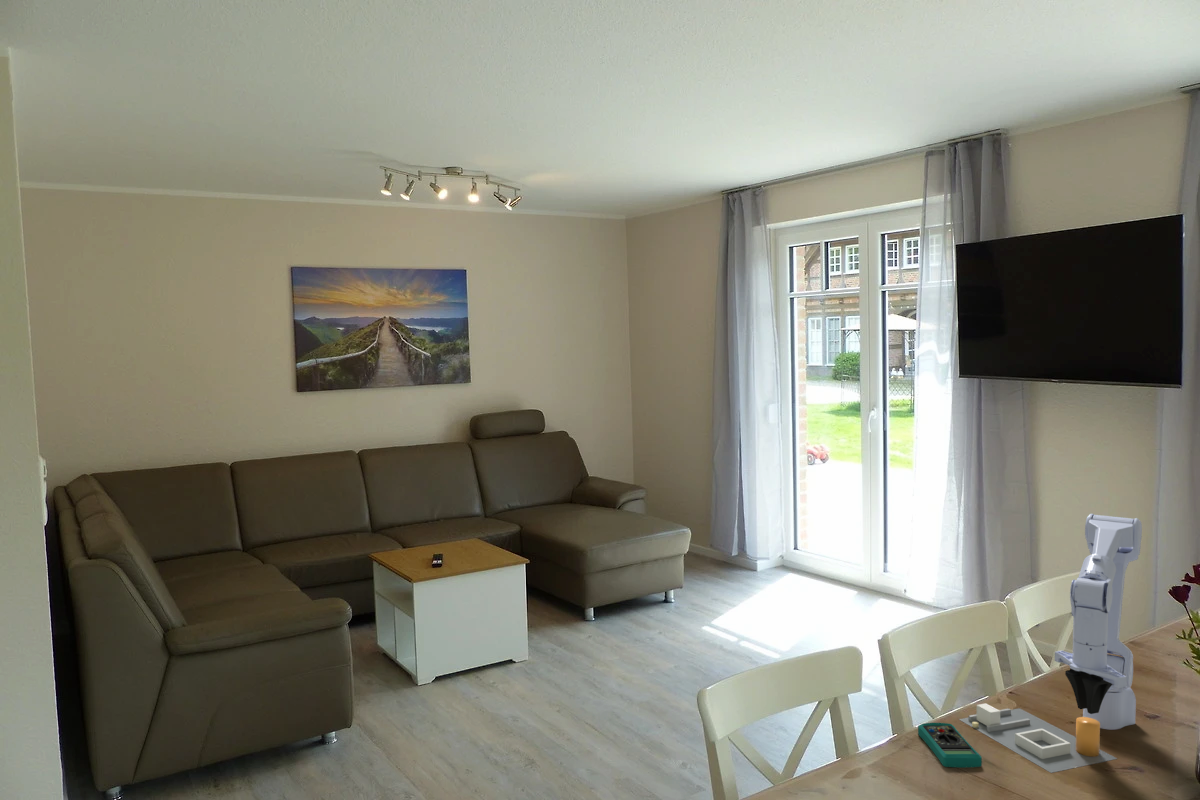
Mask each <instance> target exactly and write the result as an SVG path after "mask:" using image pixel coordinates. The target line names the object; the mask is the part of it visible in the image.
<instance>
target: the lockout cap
mask: <svg viewBox="0 0 1200 800" xmlns="http://www.w3.org/2000/svg"><path fill="white" fill-rule="evenodd" d="M1075 720H1076V721H1075V737H1076V751H1077V752H1078V753H1080V754H1082V755H1085V756H1090V757H1095V756H1098V755H1099V749H1100V745H1101V744H1100V743H1101V742H1100V738H1101V736H1100V735H1101V734H1100V733H1101V728H1100V722H1099V721H1097V720H1095V719H1092V718H1088V717H1083V716H1079V717H1076V719H1075Z"/></svg>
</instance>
